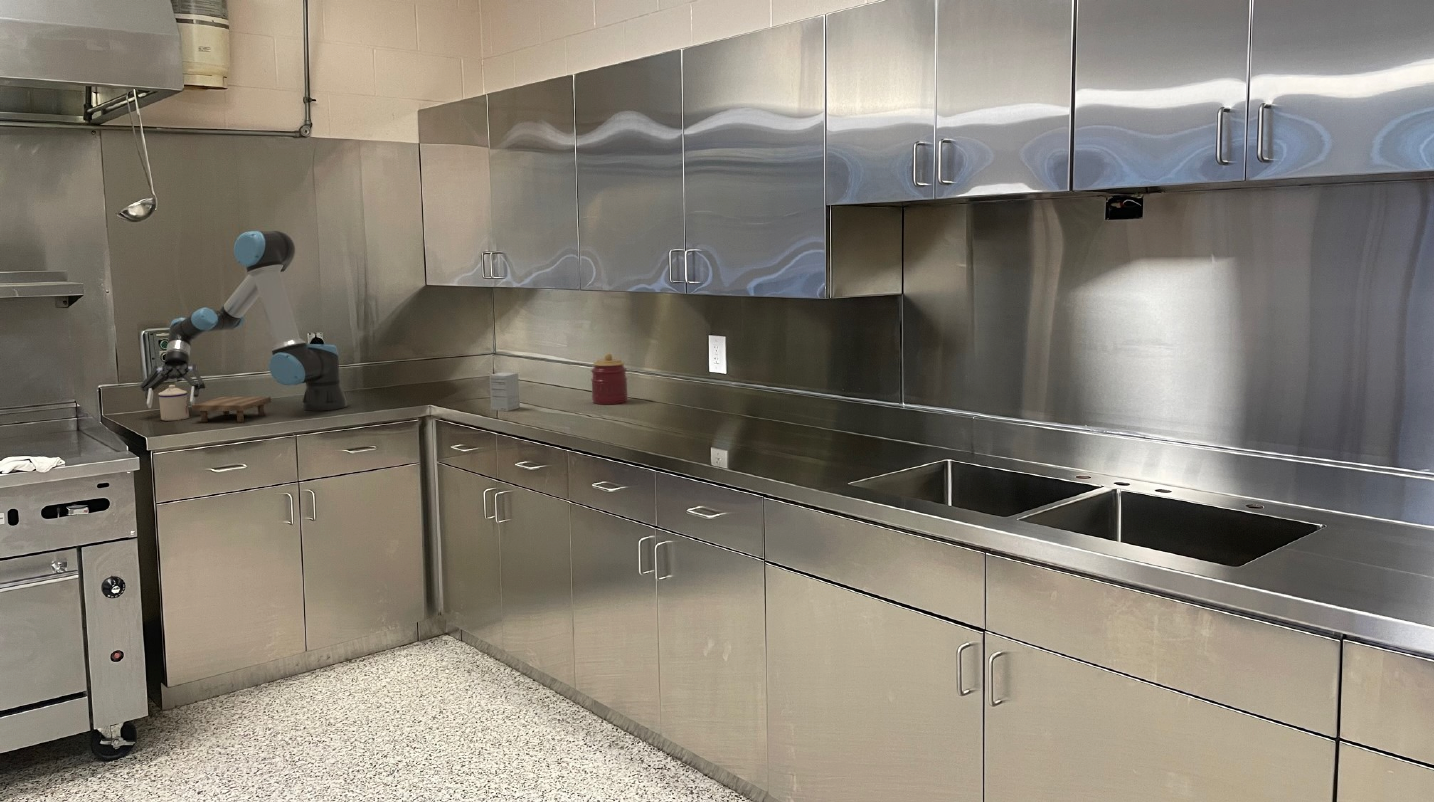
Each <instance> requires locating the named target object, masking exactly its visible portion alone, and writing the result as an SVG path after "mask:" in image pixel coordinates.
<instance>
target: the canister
mask: <svg viewBox="0 0 1434 802" xmlns="http://www.w3.org/2000/svg"><path fill="white" fill-rule="evenodd" d="M592 365H593V368H591V369H590V372H591V373H592V378H591V379H590V380H591V381H590V382H591V392H592V393H591V394H592V395H591V400H592V403H594V404H597V405H619V404H624V403H626V402H628V398H629V396H628V395H629V394H628V377H627V374H626V372H627V370H628V369H627V368H626V367H625V366H624V365H625V362H624V361H623V360H621V359H619V358H613V355H612V354H611V353H606V354H605V356H604V358H601V359H597V360H595V362H593V363H592Z"/></svg>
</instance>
